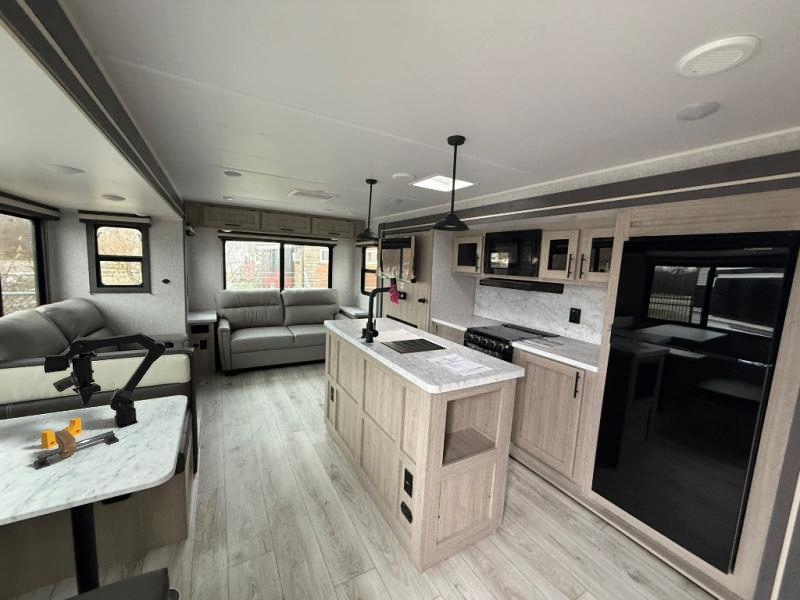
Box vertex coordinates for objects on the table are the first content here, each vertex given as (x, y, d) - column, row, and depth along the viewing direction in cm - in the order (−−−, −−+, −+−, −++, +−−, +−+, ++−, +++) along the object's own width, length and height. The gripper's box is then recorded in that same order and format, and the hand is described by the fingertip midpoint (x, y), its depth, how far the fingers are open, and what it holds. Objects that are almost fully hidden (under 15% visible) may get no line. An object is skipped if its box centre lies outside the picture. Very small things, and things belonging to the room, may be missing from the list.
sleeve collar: (67, 446, 123) (66, 428, 122) (77, 457, 116) (75, 438, 115) (56, 450, 120) (54, 432, 119) (65, 461, 114) (63, 442, 113)
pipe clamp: (72, 432, 135) (71, 417, 134) (81, 432, 134) (80, 418, 134) (37, 448, 123) (36, 432, 122) (48, 449, 122) (46, 433, 122)
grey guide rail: (113, 436, 132) (113, 427, 131) (119, 441, 129) (118, 431, 128) (33, 463, 113) (32, 452, 113) (37, 469, 110) (36, 458, 110)
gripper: (48, 368, 130) (51, 405, 132) (60, 379, 120) (64, 418, 122) (85, 362, 139) (88, 396, 141) (100, 371, 129) (102, 408, 131)
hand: (85, 404), depth 133 cm, fingers closed
